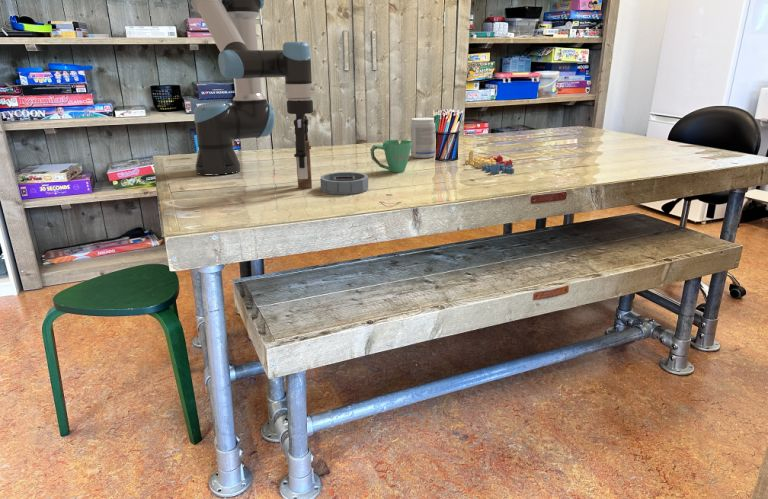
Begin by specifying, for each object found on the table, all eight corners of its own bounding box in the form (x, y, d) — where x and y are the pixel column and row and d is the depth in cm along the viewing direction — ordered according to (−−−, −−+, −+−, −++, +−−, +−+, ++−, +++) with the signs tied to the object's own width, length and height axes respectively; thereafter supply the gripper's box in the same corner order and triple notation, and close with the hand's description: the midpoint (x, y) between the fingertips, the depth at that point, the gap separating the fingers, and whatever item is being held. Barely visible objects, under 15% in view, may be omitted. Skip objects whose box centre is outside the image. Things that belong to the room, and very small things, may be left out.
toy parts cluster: (445, 154, 220) (446, 141, 218) (478, 152, 223) (478, 139, 221) (490, 176, 179) (491, 160, 177) (529, 174, 182) (531, 158, 180)
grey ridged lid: (320, 195, 155) (319, 182, 153) (322, 184, 168) (321, 172, 167) (369, 194, 156) (368, 181, 154) (367, 183, 169) (366, 171, 167)
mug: (404, 167, 193) (404, 139, 189) (416, 172, 184) (416, 142, 181) (366, 170, 187) (365, 141, 184) (376, 176, 179) (375, 145, 175)
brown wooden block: (298, 188, 163) (295, 142, 158) (298, 187, 165) (295, 141, 160) (311, 188, 163) (308, 141, 159) (311, 186, 165) (309, 140, 161)
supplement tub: (440, 156, 213) (440, 118, 208) (423, 159, 207) (424, 120, 202) (421, 153, 219) (422, 116, 214) (405, 156, 213) (405, 118, 208)
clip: (334, 188, 159) (333, 179, 158) (334, 185, 163) (333, 176, 162) (355, 188, 160) (354, 179, 159) (354, 184, 164) (354, 175, 163)
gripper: (310, 102, 145) (315, 182, 152) (314, 96, 167) (318, 167, 174) (282, 102, 144) (288, 183, 152) (290, 96, 166) (295, 167, 174)
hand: (304, 174), depth 163 cm, fingers open, 11 cm apart
